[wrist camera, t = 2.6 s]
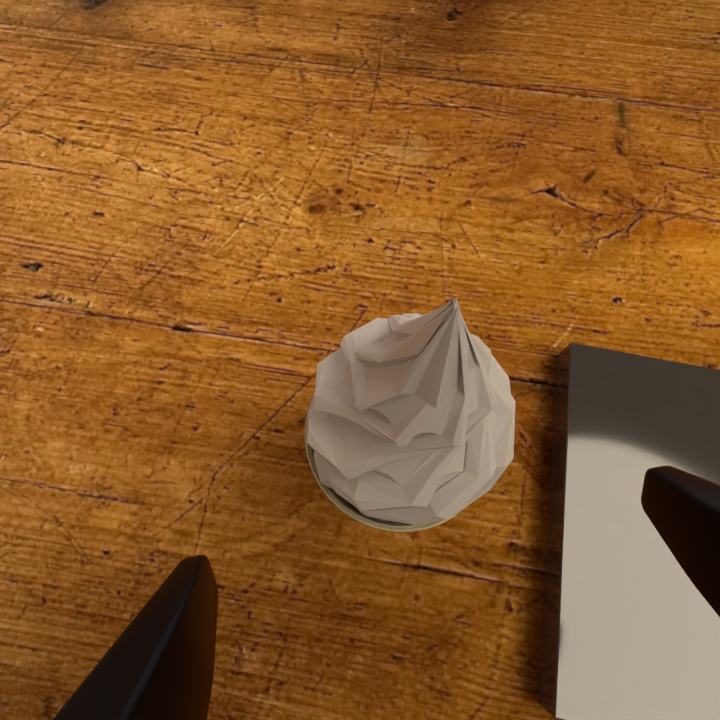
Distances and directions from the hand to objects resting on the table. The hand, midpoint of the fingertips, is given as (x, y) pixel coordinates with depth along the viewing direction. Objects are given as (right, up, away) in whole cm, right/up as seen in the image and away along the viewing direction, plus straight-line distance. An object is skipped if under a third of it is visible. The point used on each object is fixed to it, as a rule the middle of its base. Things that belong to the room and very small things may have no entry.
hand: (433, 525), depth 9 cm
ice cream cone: (0, -2, +11) cm, 11 cm away
